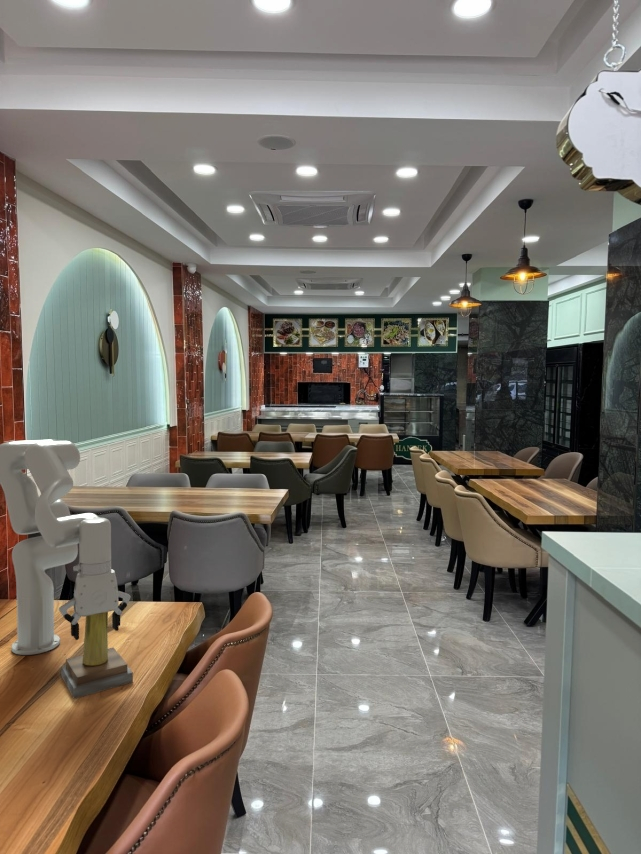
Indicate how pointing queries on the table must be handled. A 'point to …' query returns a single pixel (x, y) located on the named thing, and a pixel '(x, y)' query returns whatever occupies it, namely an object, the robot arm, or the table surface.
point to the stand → (95, 674)
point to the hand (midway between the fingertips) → (96, 633)
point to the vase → (96, 640)
